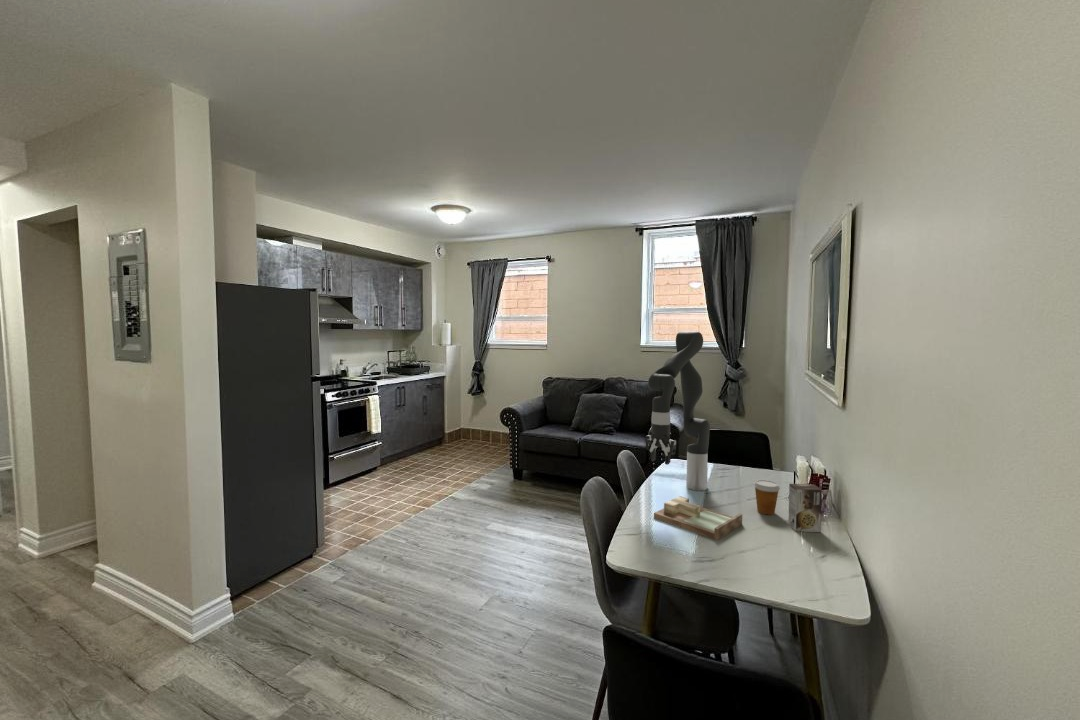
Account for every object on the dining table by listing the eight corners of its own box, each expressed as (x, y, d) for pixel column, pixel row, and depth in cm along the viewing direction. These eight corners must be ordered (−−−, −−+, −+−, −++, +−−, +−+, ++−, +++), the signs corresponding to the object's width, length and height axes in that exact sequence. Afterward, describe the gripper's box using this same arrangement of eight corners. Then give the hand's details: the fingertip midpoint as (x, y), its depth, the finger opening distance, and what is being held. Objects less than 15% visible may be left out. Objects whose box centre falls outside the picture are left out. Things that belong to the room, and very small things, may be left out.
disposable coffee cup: (767, 517, 177) (767, 488, 177) (747, 509, 186) (748, 481, 185) (784, 514, 181) (785, 485, 180) (764, 506, 189) (765, 478, 189)
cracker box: (812, 525, 170) (814, 483, 169) (821, 532, 164) (823, 489, 163) (787, 524, 171) (788, 482, 170) (795, 531, 165) (796, 488, 164)
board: (680, 505, 190) (680, 496, 190) (742, 524, 171) (742, 514, 170) (653, 517, 177) (653, 507, 176) (717, 540, 157) (717, 528, 157)
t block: (680, 504, 186) (680, 496, 186) (704, 512, 178) (705, 503, 177) (663, 511, 178) (664, 503, 177) (689, 520, 169) (689, 511, 169)
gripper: (681, 423, 182) (680, 464, 182) (651, 418, 192) (650, 457, 193) (671, 426, 177) (670, 468, 177) (640, 421, 187) (640, 460, 188)
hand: (660, 462), depth 185 cm, fingers open, 6 cm apart
